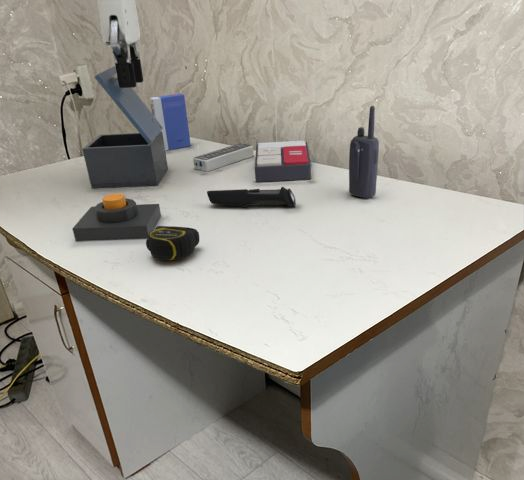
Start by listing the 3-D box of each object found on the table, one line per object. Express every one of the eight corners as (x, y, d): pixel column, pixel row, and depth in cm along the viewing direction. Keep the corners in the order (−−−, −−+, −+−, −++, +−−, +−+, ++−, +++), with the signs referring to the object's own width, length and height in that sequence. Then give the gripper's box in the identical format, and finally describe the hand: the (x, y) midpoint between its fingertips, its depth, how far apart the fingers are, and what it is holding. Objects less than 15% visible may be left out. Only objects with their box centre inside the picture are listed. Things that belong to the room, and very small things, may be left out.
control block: (75, 241, 86) (69, 217, 84) (94, 218, 94) (88, 196, 92) (148, 238, 85) (144, 214, 83) (161, 215, 93) (157, 193, 91)
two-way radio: (379, 196, 95) (386, 105, 87) (363, 202, 93) (367, 110, 85) (356, 189, 99) (360, 101, 90) (339, 195, 97) (342, 106, 88)
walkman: (187, 143, 135) (180, 91, 128) (190, 146, 133) (184, 93, 126) (157, 149, 132) (148, 96, 125) (160, 151, 130) (151, 97, 123)
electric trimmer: (211, 203, 98) (209, 186, 96) (296, 201, 96) (295, 183, 94) (207, 211, 95) (204, 193, 93) (294, 208, 93) (293, 190, 91)
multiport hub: (254, 155, 122) (253, 145, 121) (206, 171, 114) (205, 160, 112) (240, 153, 125) (240, 142, 123) (193, 168, 116) (192, 157, 115)
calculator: (254, 163, 104) (256, 140, 115) (255, 185, 106) (257, 160, 118) (311, 160, 103) (307, 137, 115) (311, 182, 106) (307, 157, 118)
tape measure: (203, 247, 81) (200, 224, 79) (185, 267, 76) (181, 242, 74) (162, 244, 83) (158, 221, 81) (141, 263, 78) (137, 239, 75)
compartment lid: (94, 77, 97) (113, 58, 95) (111, 68, 106) (129, 51, 105) (148, 144, 103) (167, 128, 101) (160, 130, 113) (178, 115, 111)
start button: (101, 211, 86) (99, 201, 85) (107, 204, 89) (105, 193, 88) (123, 210, 86) (121, 200, 85) (129, 203, 89) (127, 192, 88)
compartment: (91, 188, 109) (82, 148, 104) (107, 171, 118) (99, 134, 114) (157, 185, 108) (150, 145, 103) (168, 168, 117) (162, 131, 113)
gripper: (105, -30, 100) (123, 79, 110) (75, -31, 86) (99, 93, 96) (145, -32, 99) (159, 77, 110) (121, -34, 85) (141, 91, 95)
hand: (131, 83), depth 103 cm, fingers closed on compartment lid, 5 cm apart
